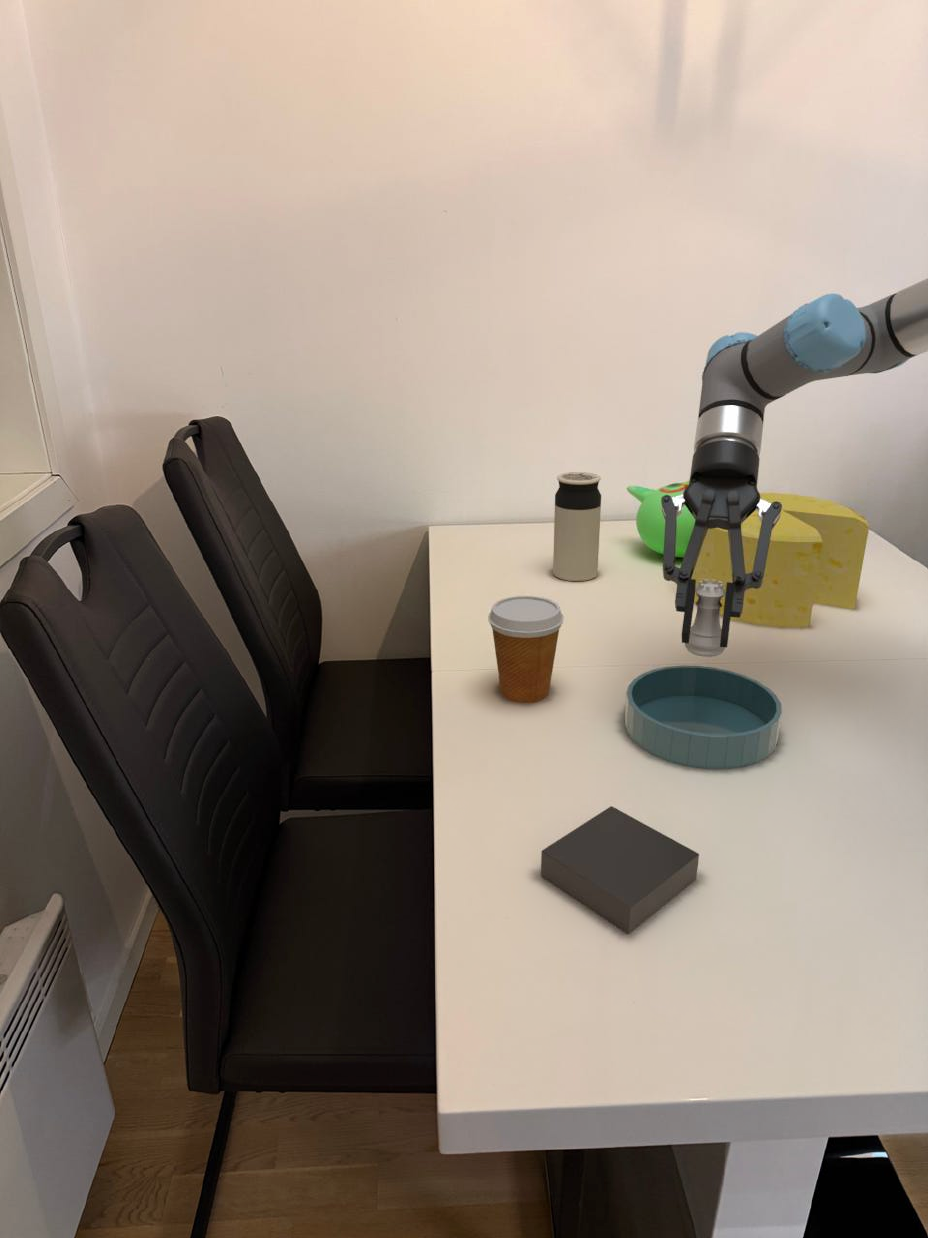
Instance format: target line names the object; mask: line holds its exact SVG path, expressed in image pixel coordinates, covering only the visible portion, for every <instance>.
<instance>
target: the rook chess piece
mask: <svg viewBox="0 0 928 1238" xmlns="http://www.w3.org/2000/svg"><path fill="white" fill-rule="evenodd" d="M695 592H696V594H697V595H698V598H699V599H698V601H697V602H695V605H696V606H697V607H696V613H695V617H694V622H693V624H692V625H691V630H690V638H689V643H684V648H685V649H686V650H687V651H688V652H689V653H690V654H692V655H695V656H698V657H703V658H713V657H717V656H720V655H721V654H722V653H724V651H725V650H726V647H720V640H721V631H722V627H721V618H720V616H721V615H719V614H720V608H721V607H722V604H721V602H720V600H721V598H722V597H723V596H724V595H725V593H726V592H725V590H724V589H723V584H722V582H720V581H719V582H718V585H717V584H716V580H712V582H711V583H708V580H707V579H706V580H703V581H700V582H699V586H698V587H697V588H696V589H695Z"/></svg>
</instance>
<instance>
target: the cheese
mask: <svg viewBox="0 0 928 1238" xmlns="http://www.w3.org/2000/svg"><path fill="white" fill-rule="evenodd" d="M759 493H760V499H762V500H764V501H767V502H769V503H771V504H772V503H773V502H775V501H777V502H780V503H781V504H782V509H781V514H780V518H779V520H778V522H777V523H776V525H775V526H774V528H773V529H772V532H771V538H770V543H769V549H768V554H767V560H766V566H765V571H764V577H763V582H762V586H761V587H760V588H758V589H755V588H750V589H747V590H746V591H745V592H744V601H743V610H742V614H741V616H740V618H738V617H730V620H734V621H737V622H738V621H739V622H742V623H745V624H746V623H747V624H751V625H757V626H766V627H775V628H810V626H811V618H812V613H813V605H814V604H815V605H822V606H829V607H835V608H843V609H848V610H854V611H855V609H856V605H857V604H856V603H857V597H858V592H859V587H860V581H861V575H862V570H863V564H864V559H865V554H866V547H867V541H868V538H869V537H868V536H869V531H870V526H869V523H868V520H867V519H866V518H865V516H863V515H862V514H860V513H857V512H856V511H855V510H854V509H852V508H850V507H847V506H845V505H842V504H839V503H837V502H834V501H831V500H827V499H823V498H818V497H813V496H808V495H802V494H801V495H799V494H794V493H793V494H792V493H781V492H780V493H778V492H759ZM758 515H759V512H758V511H757V510H755V511H754V512H753V513H752V514H751V515H750V516H749V517H748V518H747V519H746V520H745V521H744V522H743V523H742V524H741V532H742V543H743V553H744V564H745V574H747V573H752V572H753V566H754V561H755V555H756V550H757V545H758V539H759V534H760V528H761V523H762V522H761V521H760V520H759V519H758ZM691 579H696V588H697V587H698V586H699V582H700V581H703V580H706V579H707V580H708V583H711V582H712V580H716V584H717V585H718V582H719V581H720V582H722V584H723V589H724V590H725V592H726V585H727V582H731V583H733V581H732V570H731V558H730V547H729V539H728V530H724V529H721V528H712V529H708V531H707V534H706V537H705V538H704V541H703V544H702V547H701V550H700V554H699V557H698V560H697V563H696V566H695V569H694V572H693V575H692V578H691ZM725 594H726V593H725ZM698 599H699V598H698V595H697V594H696V592H695V598H694V603H696V602H697V601H698ZM720 602H721V604H722V607H721V608H720V614H719V615H720V616H721V617H723V613H724V603H725V595H724V596H723V597H722V598H721V600H720Z"/></svg>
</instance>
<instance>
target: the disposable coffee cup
mask: <svg viewBox="0 0 928 1238" xmlns="http://www.w3.org/2000/svg"><path fill="white" fill-rule="evenodd" d="M490 610H491V611H490V612H489V614H488V615H487V619H488V623H489V625H490V627H491V629H492V635H493V645H494V651H495V657H496V658H495V659H496V665H497V672H498V680H499V687H500V694H501V696H502V697H503V698H504V699H506V700H508V701H510V702H514V703H518V704H534V703H538V702H540V701H543V700H545V699H546V698H547V697H548V696H549V695H550V694H549V693H550V690H551V689H550V688H551V681H552V676H553V669H554V663H555V657H556V651H557V645H558V638H559V634H560V629H561V627H562V624H563V622H564V619H565V618H564V615H563V613H562V612H561V607H560V605H559V604H558V603H557V602H556V601H554V600H552V599H549V598H545V597H542V596H535V595H515V596H509V597H505V598H502V599H500V600H497V601H495V603H494V604H492V607H491V609H490Z"/></svg>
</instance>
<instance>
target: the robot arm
mask: <svg viewBox="0 0 928 1238" xmlns="http://www.w3.org/2000/svg"><path fill="white" fill-rule="evenodd" d="M927 352H928V278H926V279H922V280H921V281H919V282H916V283H914V284H912V285H909V286H907V287H905V288H903V289H901V290H898V291H897V292H896V293H893V294H890V295H888V296H886V297H884V298H881V299H878V300H877V301H875V302H872V303H870V304H868V305H864V306H860V307H857V306H856V305H855V304H854V303H853V302H852V301H851V300H850V299H848V298H844V297H843V296H842V295H841V294H838V293H826V294H823V295H821V296H820V297H818V298H816V299H814V300H812V301H810V302H809V303H804V304H803V305H800V306H799V307H798V308H797V309H796V310H794V311H793V312H792V313H790V314H789V315H788V316H787V317H785V318H783V319H782V320H780V321H779V322H776V323H775V324H774V325H772V326H771V327H770V328H768V329H766V330H765V331H763V332H762V333H760V334H759V335H757V334H754V333H750V332H744V331H743V332H741V331H740V332H735V333H734V334H732V335H728V334H726V335H723V336H721V337H719V338H718V339H717V340H716V341H714V342H713V343H712V345H711V346H710V348H709V349H708V351H707V356H706V361H705V365H704V368H703V371H702V375H701V381H702V382H701V390H700V398H699V399H700V400H699V407H698V418H697V421H696V429H695V436H694V444H693V454H692V461H691V468H690V474H689V479H690V481H689V485H688V486H687V488H686V489H685V490H684V492H683V494H682V495H679V496H676V497H672V498H671V496H669V495H664V496H663V497H662V498H661V505H662V513H663V516H664V518H665V536H664V554H662V555H663V556H662V576H663V579H664V580H665V581H666V582H673V583H675V585H677V586H676V592H675V599H674V609H675V611H676V612H680V613H683V620H682V628H681V644H685V643H689V638H690V630H691V627H692V623H693V614H694V613H693V612H694V606H695V605H694V604H695V602H694V598H695V589H696V579H691V578H692V575H693V572H694V569H695V566H696V563H697V560H698V557H699V554H700V550H701V547H702V544H703V541H704V538H705V537H706V534H707V531H708V529H712V528H721V529H724V530H728V539H729V547H730V558H731V570H732V581H733V583H731V582H727V585H726V594H725V603H724V613H723V616H722V623H721V629H722V631H721V640H720V647H725V649H727V648H728V642H729V635H730V626H731V625H730V624H731V619H730V617H738V618H740V616H741V614H742V610H743V601H744V592H745V591H746V590H747V589H750V588H755V589H758V588H760V587H761V586H762V582H763V577H764V571H765V566H766V560H767V554H768V549H769V543H770V538H771V532H772V529H773V528H774V526H775V525H776V523H777V522H778V520H779V518H780V514H781V509H782V504H781V503H780V502H777V501H775V502H773V503H772V504H771V503H769V502H767V501H764V500H762V499H760V493H761V492H759V490H758V481H759V471H760V470H759V469H760V461H761V460H760V455H761V450H762V439H763V430H764V420H765V411H766V407H767V406H768V405H769V404H770V403H773V402H775V401H776V400H779V399H782V398H783V397H785V396H786V395H787V394H790V393H792V392H794V391H796V390H798V389H800V388H801V387H803V386H805V385H808V384H810V383H812V382H816V381H822V380H829V379H836V378H844V377H849V376H855V375H864V374H879V373H883V372H887V371H890V370H893V369H895V368H898V367H900V366H902V365H904V364H906V362H908V361H909V360H910V359H912V358H915V357H916V356H919V355H921V354H924V353H927ZM685 505H686V507H687V508H688V510H689V511H690V513H691V514H692V516H693V517H694V519H695V525H694V528H693V531H692V534H691V537H690V540H689V543H688V546H687V549H686V552H685V555H684V558H682V561H681V565H680V567H678V566H676V557H675V550H676V530H677V518H676V517H678V516H679V515H680V514H681V512H682V507H683V506H685ZM755 510H757V511H758V512H759V515H758V519H759V520H760V521H761V522H762V523H761V528H760V534H759V539H758V545H757V550H756V555H755V561H754V566H753V572H752V573H747V574H745V564H744V553H743V543H742V532H741V524H742V523H743V522H744V521H745V520H746V519H747V518H748V517H749V516H750V515H751V514H752V513H753V512H754V511H755Z"/></svg>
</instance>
